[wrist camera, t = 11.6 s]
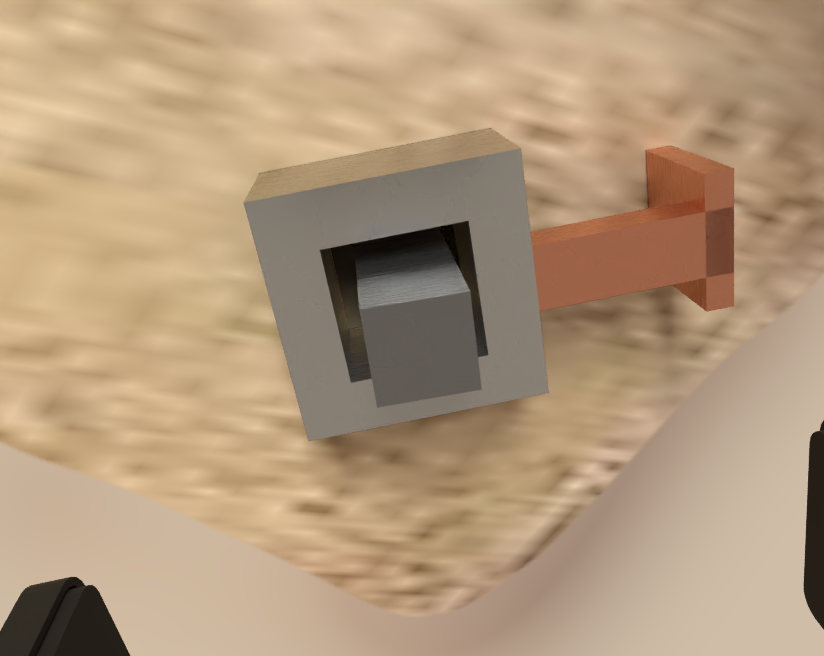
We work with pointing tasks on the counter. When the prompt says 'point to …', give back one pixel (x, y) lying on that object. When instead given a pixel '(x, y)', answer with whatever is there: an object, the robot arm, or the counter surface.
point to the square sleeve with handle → (472, 260)
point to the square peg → (415, 318)
